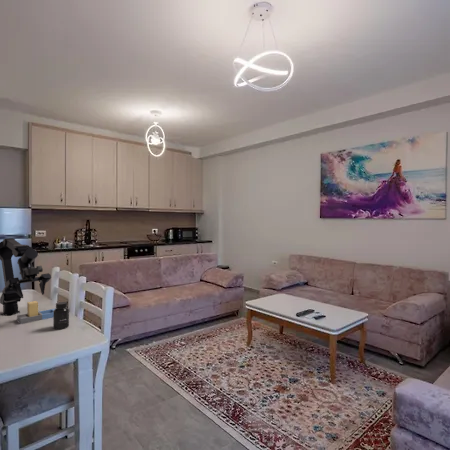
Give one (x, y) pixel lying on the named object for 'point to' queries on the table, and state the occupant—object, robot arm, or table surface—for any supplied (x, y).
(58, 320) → the supplement bottle
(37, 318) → the duct block
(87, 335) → the table surface
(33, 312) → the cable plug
